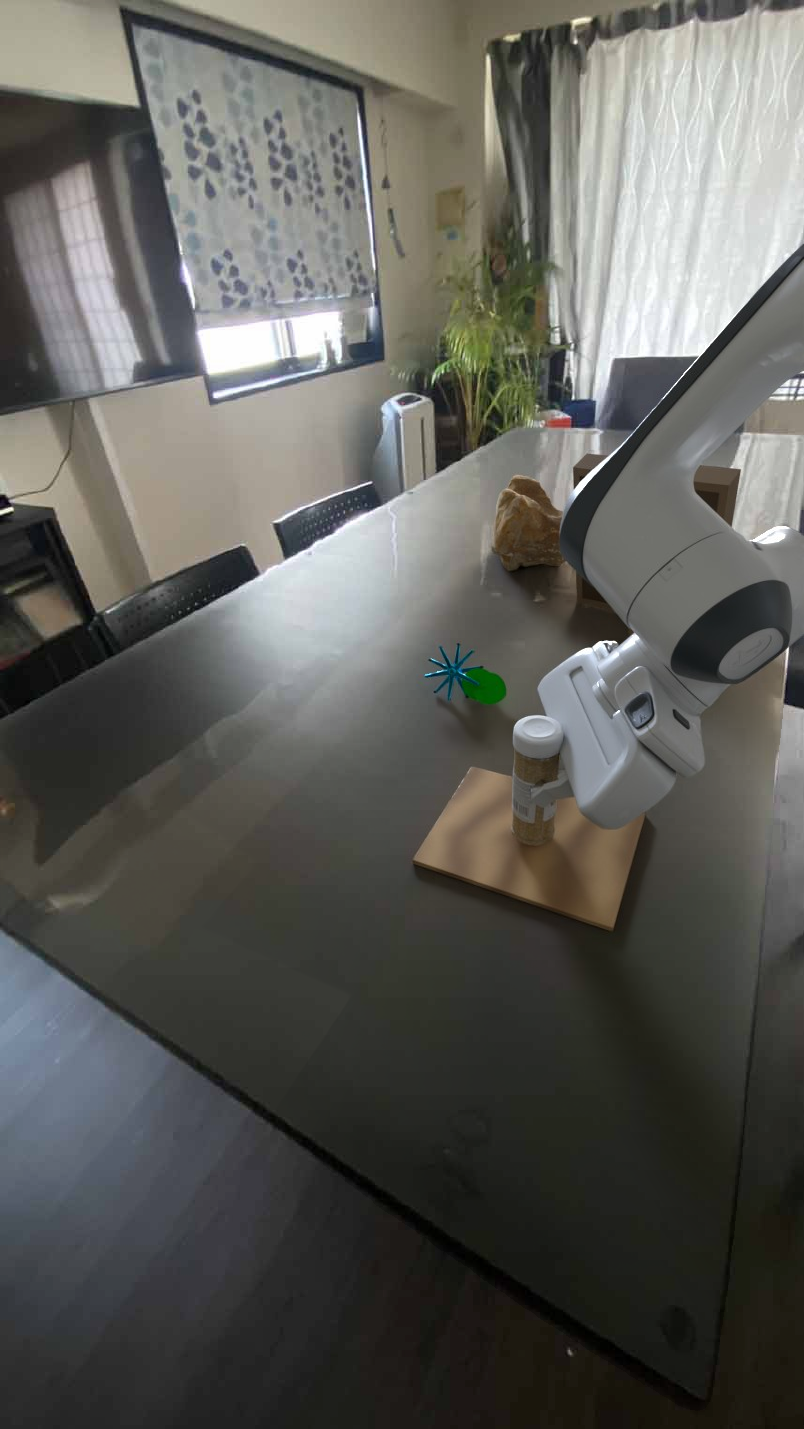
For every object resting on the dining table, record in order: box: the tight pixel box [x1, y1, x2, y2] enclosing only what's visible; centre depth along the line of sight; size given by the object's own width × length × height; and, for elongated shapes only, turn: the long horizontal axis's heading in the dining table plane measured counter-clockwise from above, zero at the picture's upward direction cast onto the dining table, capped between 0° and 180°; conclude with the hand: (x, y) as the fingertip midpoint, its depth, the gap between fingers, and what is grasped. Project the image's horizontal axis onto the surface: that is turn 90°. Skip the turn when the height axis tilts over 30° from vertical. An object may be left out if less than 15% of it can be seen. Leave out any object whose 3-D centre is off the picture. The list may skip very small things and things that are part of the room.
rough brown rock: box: [491, 474, 566, 572], centre depth 124 cm, size 23×17×15 cm
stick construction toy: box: [423, 642, 507, 706], centre depth 90 cm, size 12×7×8 cm
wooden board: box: [412, 766, 647, 933], centre depth 67 cm, size 20×16×1 cm
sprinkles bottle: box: [511, 714, 564, 846], centre depth 62 cm, size 5×5×13 cm
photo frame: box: [572, 453, 742, 638], centre depth 96 cm, size 15×22×25 cm
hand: (529, 780), depth 62 cm, fingers closed on sprinkles bottle, 4 cm apart
